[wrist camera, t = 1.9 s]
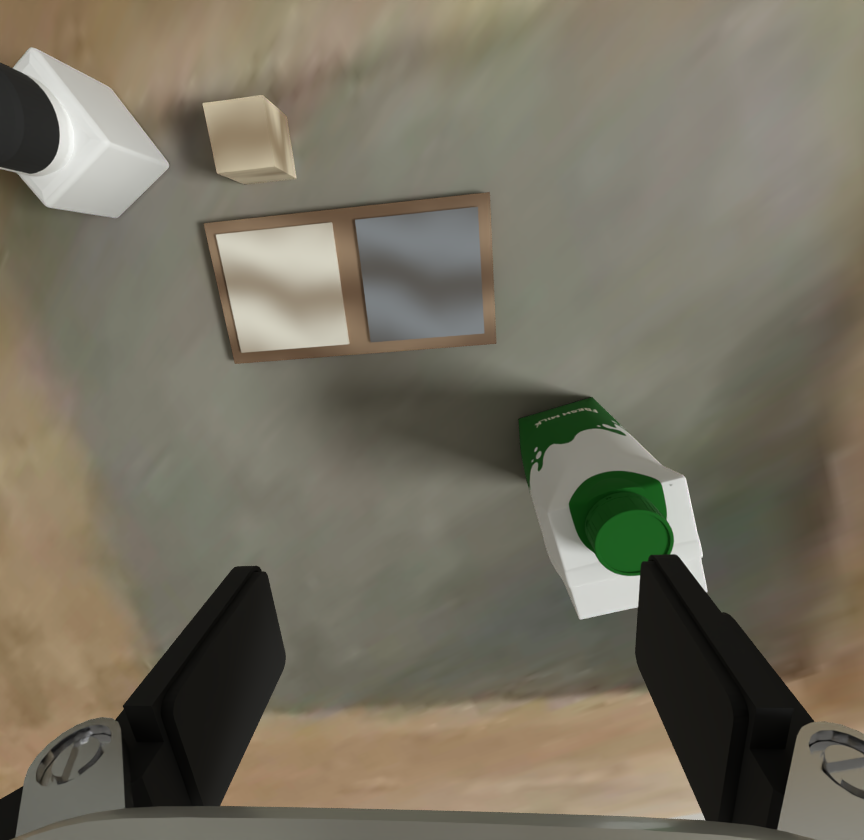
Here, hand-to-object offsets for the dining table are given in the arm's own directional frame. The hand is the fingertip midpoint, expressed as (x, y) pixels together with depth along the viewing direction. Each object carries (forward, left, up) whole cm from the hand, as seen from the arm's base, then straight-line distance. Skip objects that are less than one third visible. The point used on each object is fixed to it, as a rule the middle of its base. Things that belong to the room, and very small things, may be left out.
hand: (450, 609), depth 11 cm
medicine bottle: (-20, -28, -32) cm, 47 cm away
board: (-8, -9, -31) cm, 34 cm away
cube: (-19, -15, -32) cm, 40 cm away
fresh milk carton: (+8, +9, -32) cm, 34 cm away
